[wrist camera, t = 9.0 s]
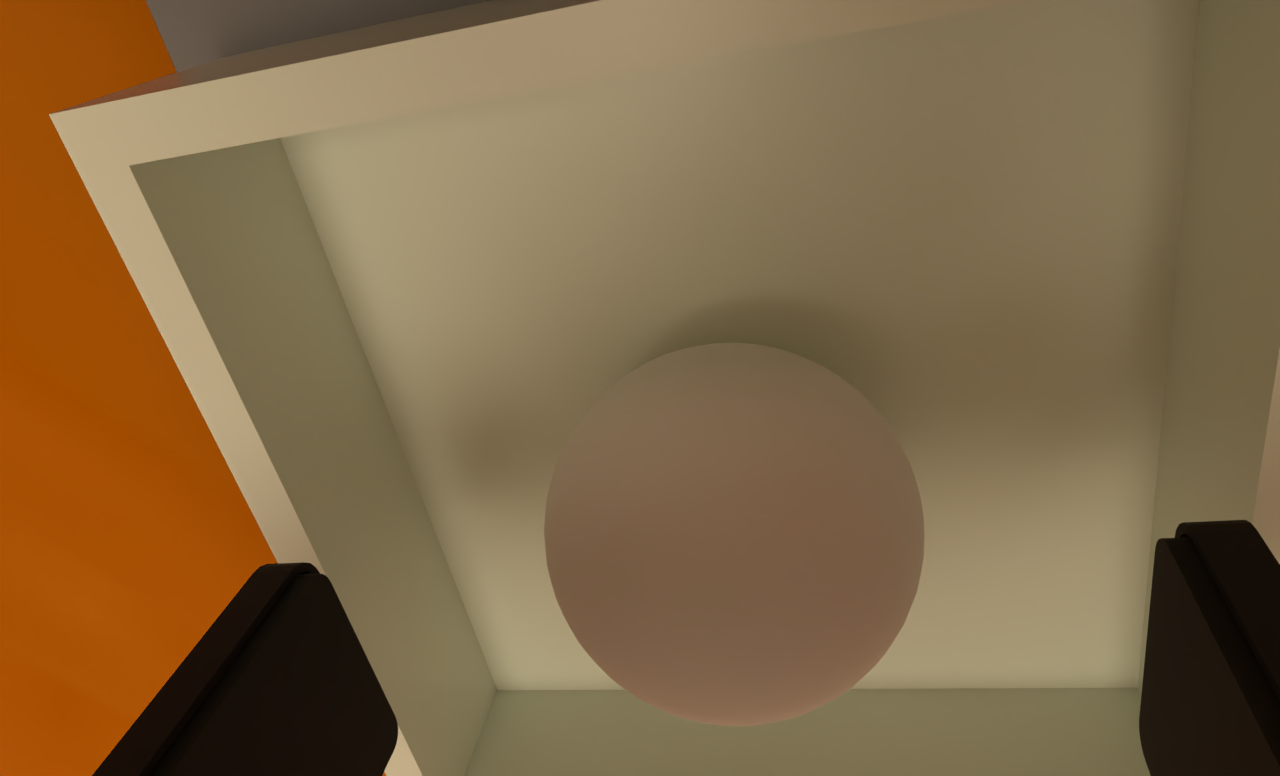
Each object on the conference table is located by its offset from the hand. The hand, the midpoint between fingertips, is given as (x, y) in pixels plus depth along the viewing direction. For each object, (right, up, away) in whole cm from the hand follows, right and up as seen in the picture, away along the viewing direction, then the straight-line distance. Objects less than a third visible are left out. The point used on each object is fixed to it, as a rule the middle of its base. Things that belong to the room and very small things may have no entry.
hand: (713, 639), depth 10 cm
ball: (+1, +2, +4) cm, 5 cm away
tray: (+1, +3, +4) cm, 5 cm away
